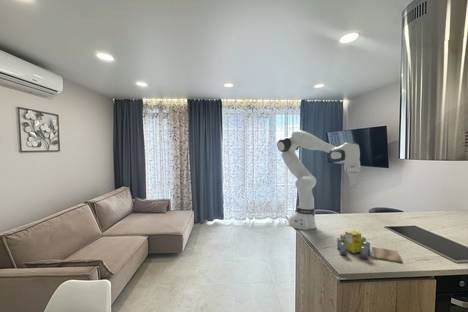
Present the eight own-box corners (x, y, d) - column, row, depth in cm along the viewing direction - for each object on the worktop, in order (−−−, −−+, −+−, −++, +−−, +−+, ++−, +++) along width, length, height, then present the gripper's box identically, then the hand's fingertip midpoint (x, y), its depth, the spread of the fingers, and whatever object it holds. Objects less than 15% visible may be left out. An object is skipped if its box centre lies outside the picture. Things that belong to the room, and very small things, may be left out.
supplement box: (361, 252, 128) (361, 233, 128) (353, 254, 126) (353, 234, 126) (353, 248, 134) (353, 230, 133) (344, 249, 132) (344, 231, 132)
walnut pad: (374, 258, 121) (374, 256, 121) (372, 248, 133) (372, 247, 133) (402, 263, 116) (402, 261, 116) (396, 252, 128) (396, 250, 128)
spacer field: (336, 254, 126) (336, 244, 126) (337, 243, 141) (337, 233, 141) (371, 260, 118) (371, 249, 118) (368, 247, 134) (368, 237, 134)
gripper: (346, 167, 151) (346, 187, 151) (346, 169, 133) (347, 192, 133) (357, 167, 148) (357, 188, 148) (359, 169, 130) (359, 193, 130)
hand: (352, 190), depth 140 cm, fingers open, 8 cm apart
